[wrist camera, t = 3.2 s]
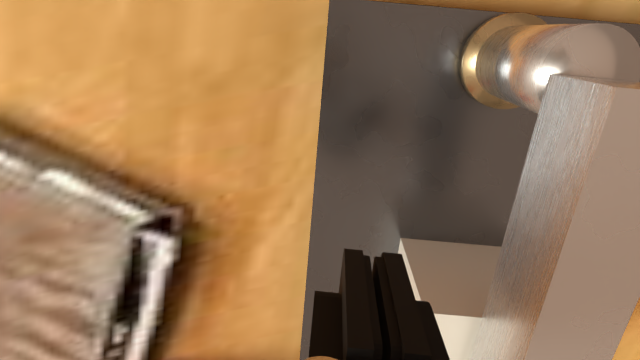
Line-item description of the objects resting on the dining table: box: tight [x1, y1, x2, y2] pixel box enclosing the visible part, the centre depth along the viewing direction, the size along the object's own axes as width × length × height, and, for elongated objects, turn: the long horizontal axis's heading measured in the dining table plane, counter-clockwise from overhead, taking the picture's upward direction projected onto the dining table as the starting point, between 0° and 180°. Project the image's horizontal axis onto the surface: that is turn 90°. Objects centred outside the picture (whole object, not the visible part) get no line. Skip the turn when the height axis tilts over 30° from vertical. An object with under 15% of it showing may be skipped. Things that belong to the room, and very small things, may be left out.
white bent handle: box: [459, 13, 640, 360], centre depth 15 cm, size 14×4×9 cm, turn 175°
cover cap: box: [398, 238, 501, 360], centre depth 19 cm, size 6×6×6 cm
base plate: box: [300, 0, 640, 360], centre depth 22 cm, size 22×16×3 cm
